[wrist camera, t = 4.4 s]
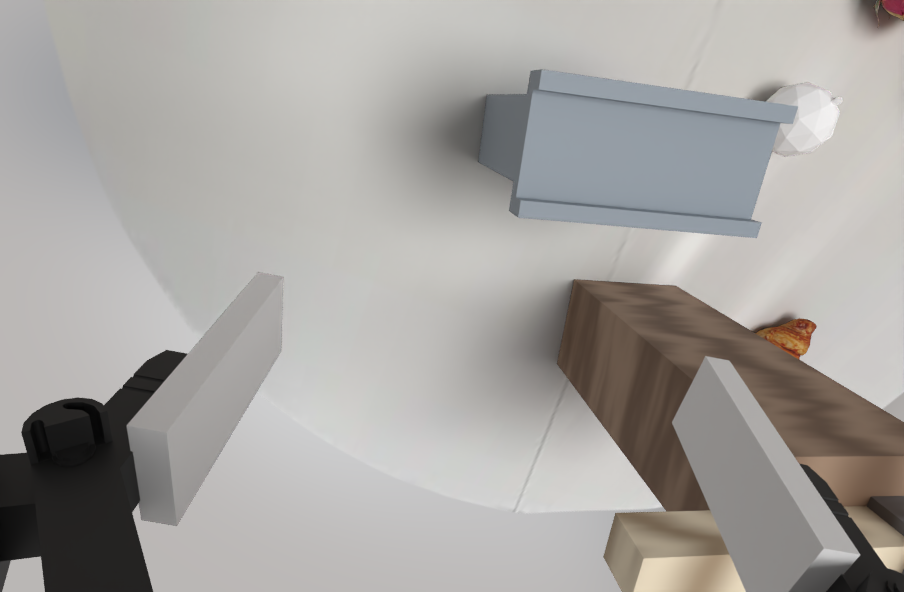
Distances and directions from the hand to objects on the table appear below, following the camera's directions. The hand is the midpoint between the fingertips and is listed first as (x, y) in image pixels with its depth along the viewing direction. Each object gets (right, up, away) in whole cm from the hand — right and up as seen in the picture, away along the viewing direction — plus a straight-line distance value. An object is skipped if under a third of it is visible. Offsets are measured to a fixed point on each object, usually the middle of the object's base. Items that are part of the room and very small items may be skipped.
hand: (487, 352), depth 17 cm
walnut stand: (+17, -1, +43) cm, 46 cm away
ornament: (+31, +20, +37) cm, 53 cm away
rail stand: (+8, +17, +34) cm, 39 cm away
